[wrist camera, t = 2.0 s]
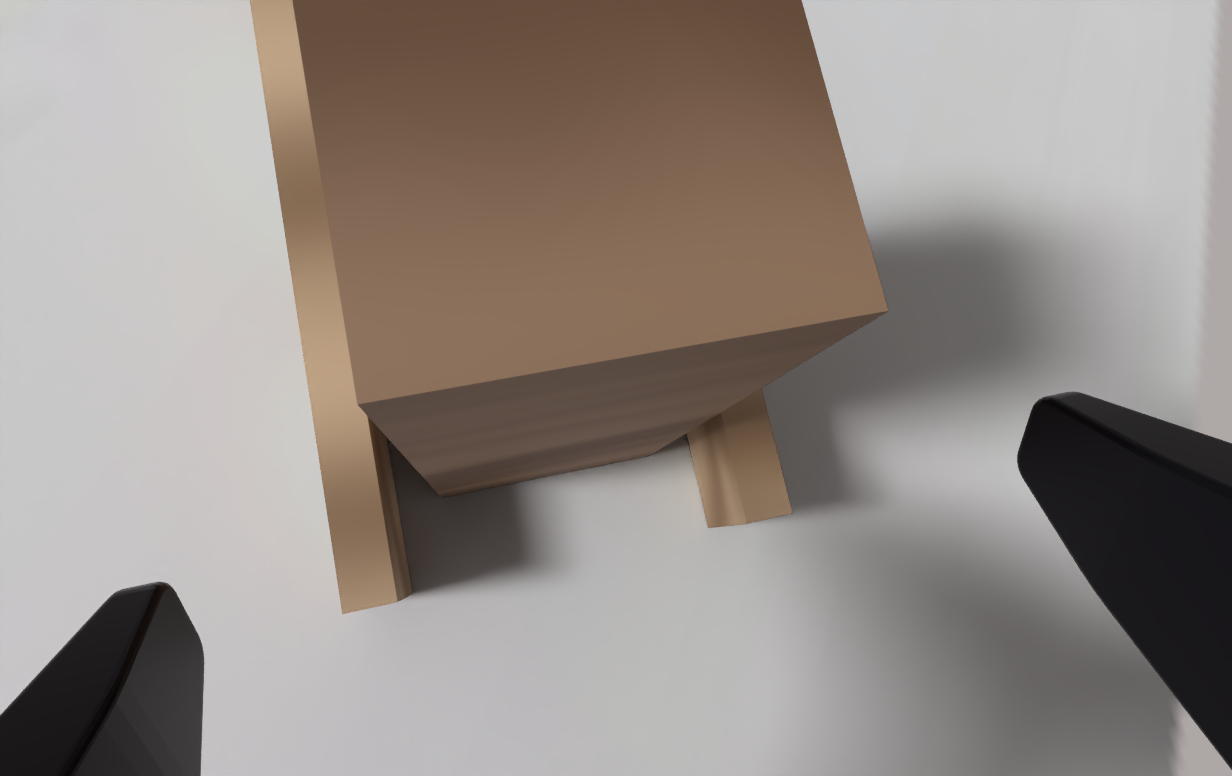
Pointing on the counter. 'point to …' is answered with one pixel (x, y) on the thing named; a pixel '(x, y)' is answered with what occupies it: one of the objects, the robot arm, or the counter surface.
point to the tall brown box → (576, 220)
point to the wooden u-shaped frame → (346, 437)
